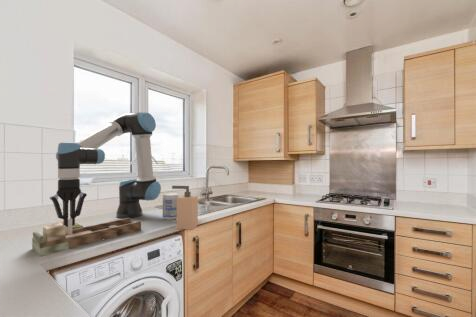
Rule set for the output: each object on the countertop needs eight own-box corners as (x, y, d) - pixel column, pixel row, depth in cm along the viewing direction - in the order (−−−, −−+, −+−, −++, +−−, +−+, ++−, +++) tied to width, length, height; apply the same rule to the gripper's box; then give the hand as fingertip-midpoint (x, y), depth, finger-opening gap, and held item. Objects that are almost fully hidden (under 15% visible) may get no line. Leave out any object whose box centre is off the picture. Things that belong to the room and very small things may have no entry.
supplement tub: (165, 221, 135) (165, 195, 135) (160, 217, 143) (160, 193, 143) (181, 218, 141) (181, 194, 141) (175, 215, 149) (175, 192, 149)
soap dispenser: (197, 225, 127) (197, 185, 127) (192, 229, 118) (192, 187, 118) (175, 224, 129) (175, 184, 129) (169, 228, 120) (169, 186, 120)
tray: (129, 225, 125) (129, 213, 125) (140, 230, 118) (140, 216, 118) (32, 248, 94) (32, 231, 94) (40, 256, 86) (40, 237, 86)
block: (61, 237, 99) (60, 223, 99) (65, 240, 95) (65, 225, 95) (43, 241, 94) (43, 226, 94) (47, 244, 90) (47, 229, 90)
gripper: (83, 177, 106) (83, 228, 106) (47, 179, 96) (47, 236, 96) (89, 177, 101) (89, 231, 101) (52, 180, 91) (53, 239, 91)
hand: (69, 233), depth 98 cm, fingers closed
